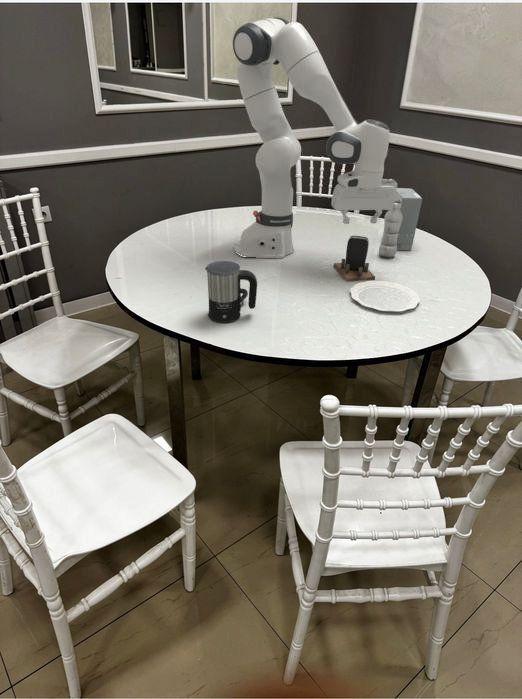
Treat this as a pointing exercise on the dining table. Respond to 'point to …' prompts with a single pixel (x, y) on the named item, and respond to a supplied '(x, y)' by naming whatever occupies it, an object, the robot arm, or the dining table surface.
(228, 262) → the milk frother
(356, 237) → the battery charger
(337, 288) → the dining table surface
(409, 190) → the hard drive box
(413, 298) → the plate
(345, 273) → the brown pegboard
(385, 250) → the plastic bottle
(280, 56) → the robot arm
